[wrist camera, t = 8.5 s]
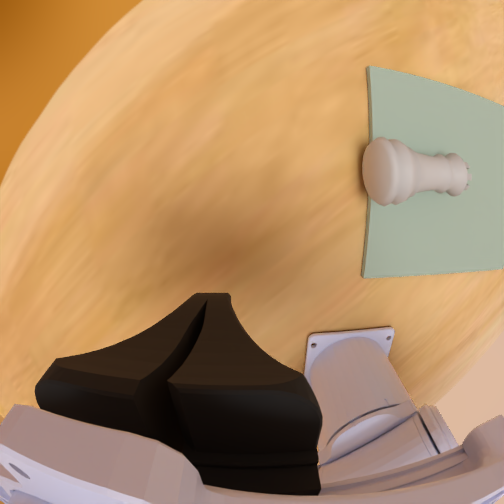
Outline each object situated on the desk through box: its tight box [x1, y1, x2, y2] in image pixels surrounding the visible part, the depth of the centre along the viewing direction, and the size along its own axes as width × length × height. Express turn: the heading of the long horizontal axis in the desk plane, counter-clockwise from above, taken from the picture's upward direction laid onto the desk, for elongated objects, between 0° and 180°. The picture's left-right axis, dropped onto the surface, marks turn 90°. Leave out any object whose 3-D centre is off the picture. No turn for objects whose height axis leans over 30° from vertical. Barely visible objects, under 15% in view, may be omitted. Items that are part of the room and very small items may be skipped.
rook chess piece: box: [362, 137, 472, 206], centre depth 17 cm, size 4×4×8 cm
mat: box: [361, 66, 504, 278], centre depth 19 cm, size 16×17×1 cm
